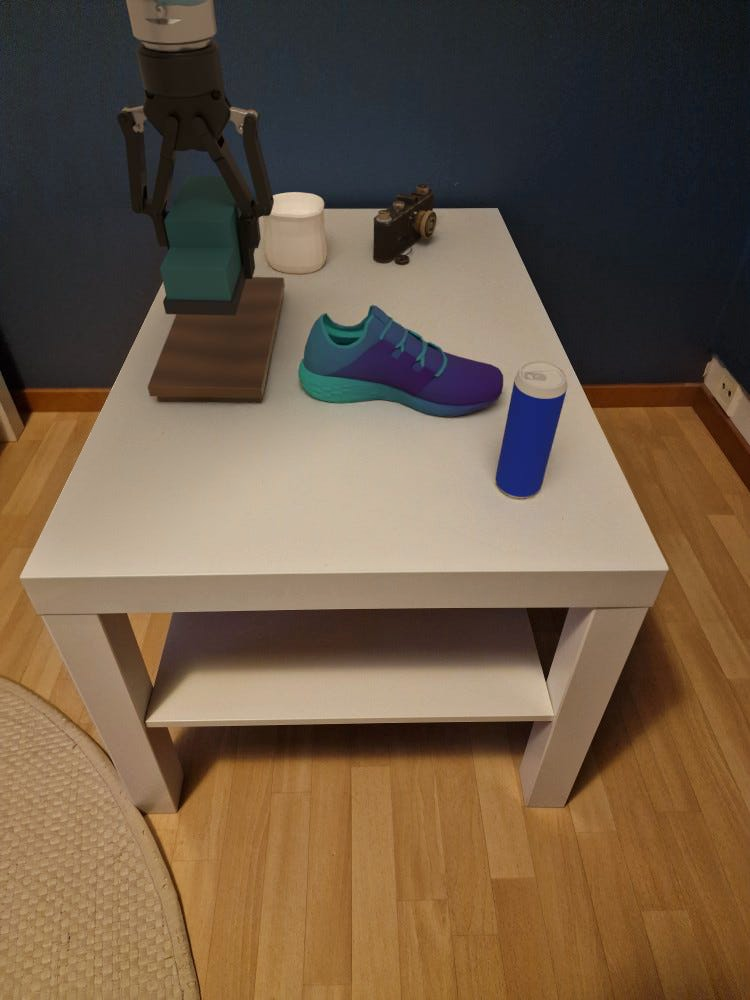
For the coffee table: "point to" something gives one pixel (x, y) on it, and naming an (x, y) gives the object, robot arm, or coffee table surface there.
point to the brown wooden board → (221, 350)
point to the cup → (295, 233)
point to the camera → (403, 225)
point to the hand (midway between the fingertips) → (214, 272)
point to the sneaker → (393, 368)
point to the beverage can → (530, 428)
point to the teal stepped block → (203, 250)
